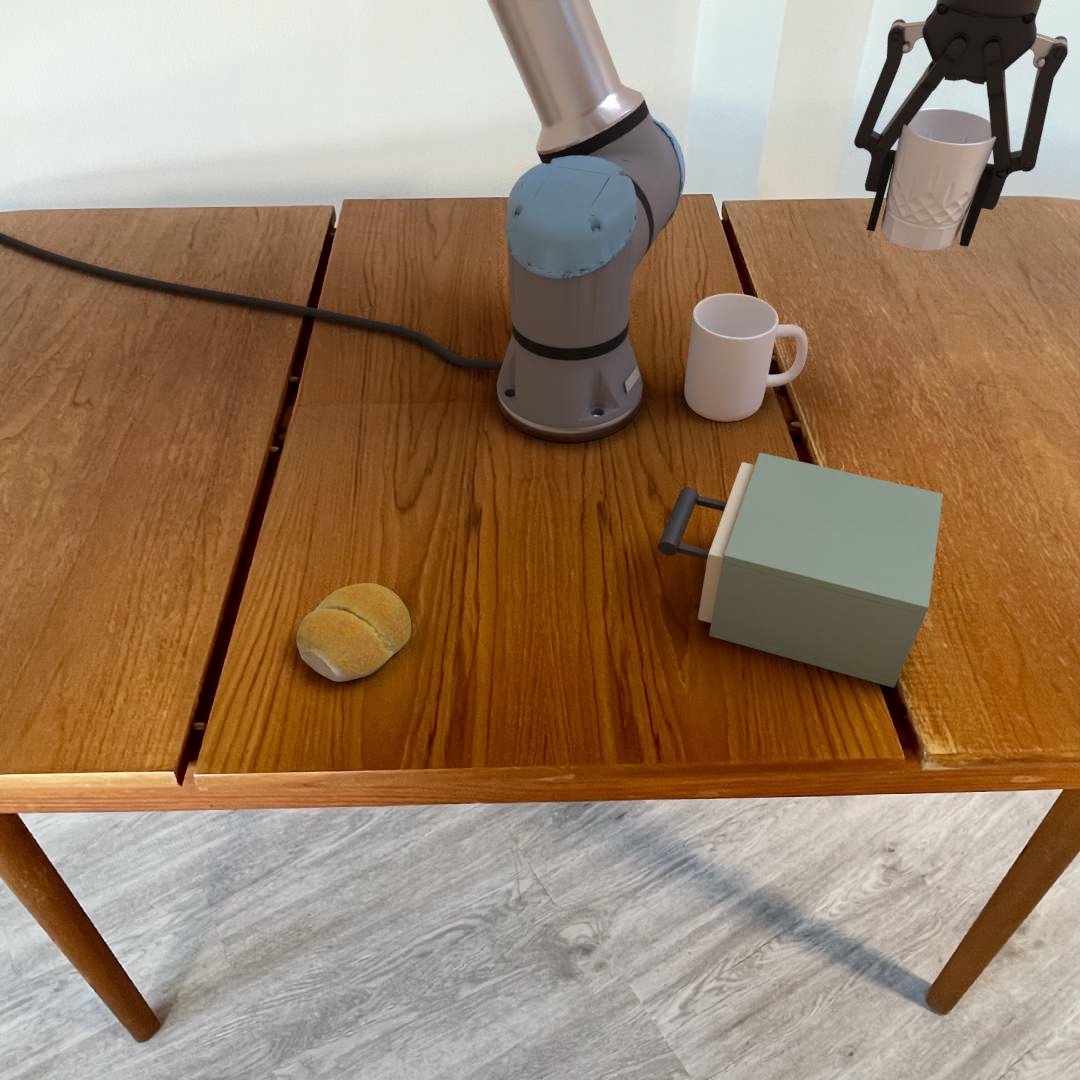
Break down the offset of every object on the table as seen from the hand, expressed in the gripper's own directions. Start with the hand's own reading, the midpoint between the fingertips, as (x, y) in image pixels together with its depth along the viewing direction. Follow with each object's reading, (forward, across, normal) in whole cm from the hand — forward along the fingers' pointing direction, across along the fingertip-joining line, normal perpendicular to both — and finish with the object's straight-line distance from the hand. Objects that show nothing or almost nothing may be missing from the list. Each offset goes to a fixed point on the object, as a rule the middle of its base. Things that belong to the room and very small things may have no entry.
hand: (918, 231), depth 86 cm
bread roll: (+18, -35, -50) cm, 63 cm away
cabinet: (+18, -1, -33) cm, 37 cm away
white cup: (0, 0, 0) cm, 0 cm away
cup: (+18, -12, -7) cm, 23 cm away
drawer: (+17, -5, -33) cm, 37 cm away
